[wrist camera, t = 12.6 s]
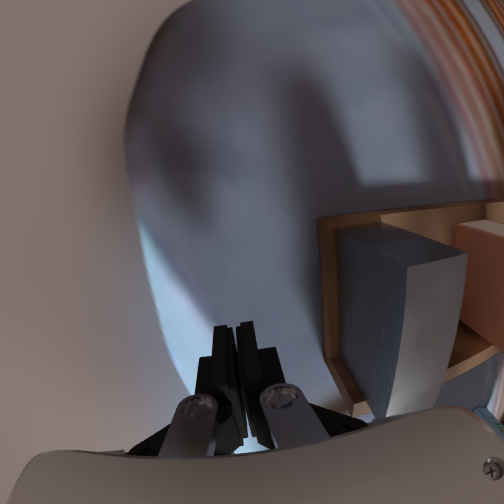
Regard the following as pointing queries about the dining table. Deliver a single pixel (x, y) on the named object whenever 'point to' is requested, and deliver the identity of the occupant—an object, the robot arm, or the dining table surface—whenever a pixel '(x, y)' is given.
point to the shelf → (420, 222)
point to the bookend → (397, 314)
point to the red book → (483, 278)
